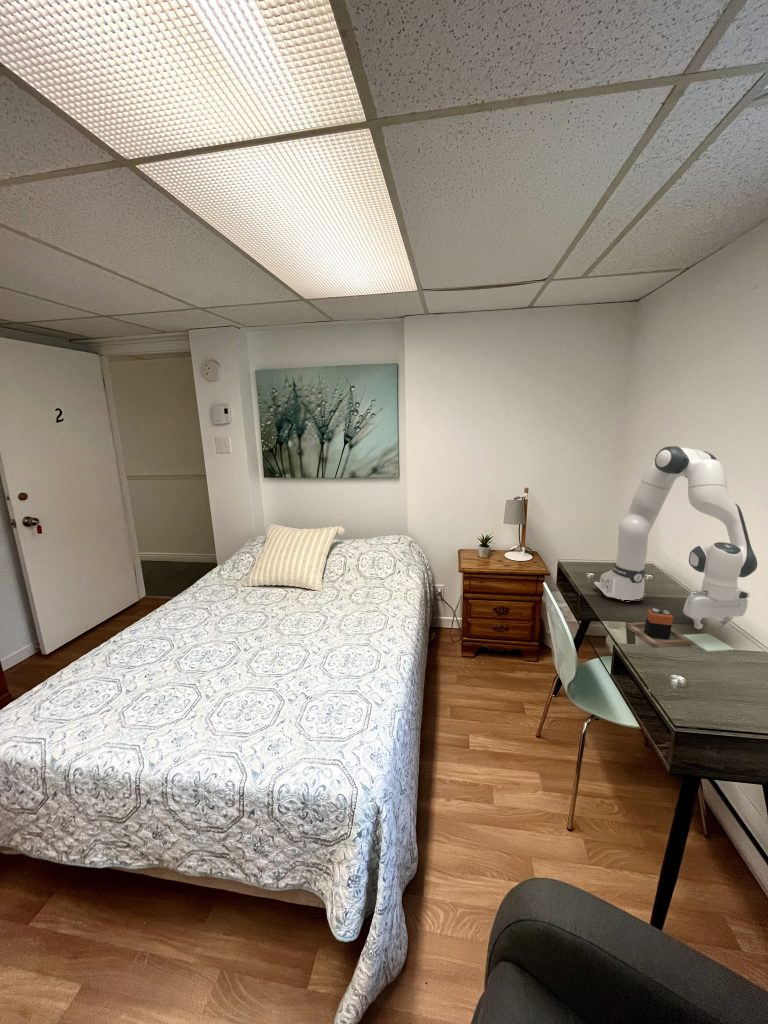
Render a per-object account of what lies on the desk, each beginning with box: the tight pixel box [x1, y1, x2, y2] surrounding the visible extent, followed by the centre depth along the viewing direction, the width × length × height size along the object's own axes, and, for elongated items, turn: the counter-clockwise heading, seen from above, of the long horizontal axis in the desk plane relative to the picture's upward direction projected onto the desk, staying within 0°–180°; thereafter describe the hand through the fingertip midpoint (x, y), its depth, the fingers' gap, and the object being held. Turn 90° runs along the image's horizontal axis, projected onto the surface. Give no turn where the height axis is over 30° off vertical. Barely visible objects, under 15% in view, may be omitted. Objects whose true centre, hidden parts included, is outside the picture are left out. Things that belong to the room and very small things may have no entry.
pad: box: [682, 633, 735, 653], centre depth 137 cm, size 10×10×1 cm
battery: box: [643, 608, 674, 640], centre depth 141 cm, size 4×7×10 cm, turn 76°
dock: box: [625, 621, 693, 648], centre depth 142 cm, size 14×14×2 cm
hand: (710, 627), depth 136 cm, fingers open, 8 cm apart
